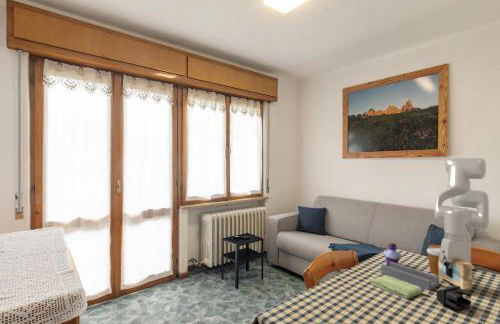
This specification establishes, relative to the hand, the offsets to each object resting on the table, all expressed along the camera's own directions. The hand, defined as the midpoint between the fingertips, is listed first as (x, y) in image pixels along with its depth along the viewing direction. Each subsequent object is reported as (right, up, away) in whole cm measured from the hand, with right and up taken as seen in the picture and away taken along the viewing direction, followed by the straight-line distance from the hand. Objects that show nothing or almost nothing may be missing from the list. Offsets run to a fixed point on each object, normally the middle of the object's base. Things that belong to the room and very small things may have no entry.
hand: (454, 275), depth 121 cm
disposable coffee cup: (+3, -5, +15) cm, 16 cm away
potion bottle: (-15, -5, +24) cm, 29 cm away
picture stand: (-17, -5, +7) cm, 19 cm away
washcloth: (-29, -5, -4) cm, 30 cm away
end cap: (-14, -5, -18) cm, 23 cm away
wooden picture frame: (0, -3, 0) cm, 3 cm away
